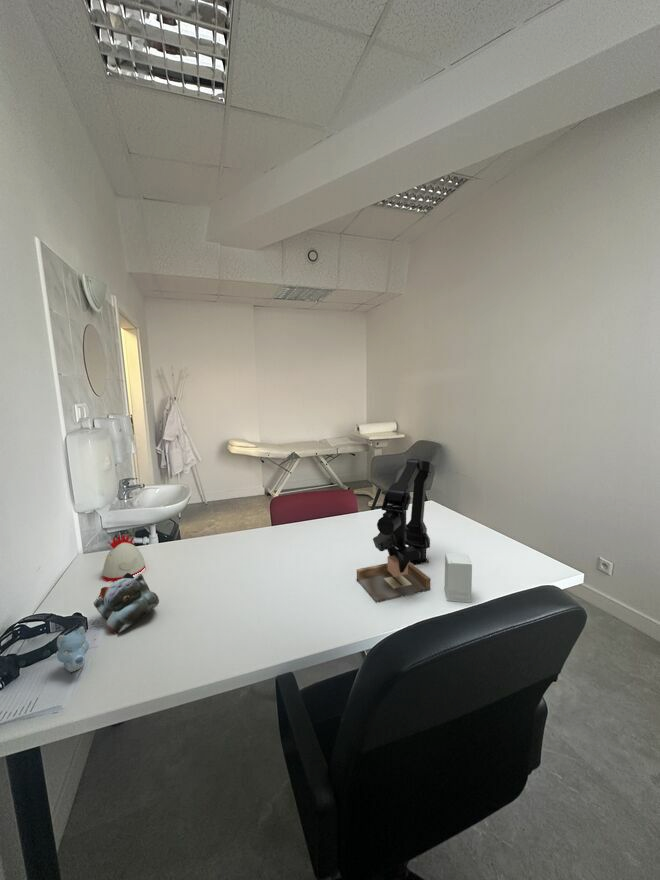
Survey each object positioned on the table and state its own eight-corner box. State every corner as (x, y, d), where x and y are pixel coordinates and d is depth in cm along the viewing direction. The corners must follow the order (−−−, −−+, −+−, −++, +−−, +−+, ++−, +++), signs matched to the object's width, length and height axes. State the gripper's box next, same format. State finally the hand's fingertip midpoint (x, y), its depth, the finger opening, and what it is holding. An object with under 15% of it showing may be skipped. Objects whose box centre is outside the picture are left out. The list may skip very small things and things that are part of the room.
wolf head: (66, 688, 81) (61, 648, 80) (56, 669, 87) (52, 631, 86) (97, 672, 86) (93, 634, 85) (86, 655, 92) (82, 619, 90)
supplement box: (471, 603, 111) (472, 564, 109) (446, 601, 112) (447, 562, 111) (467, 590, 118) (468, 554, 116) (444, 588, 119) (444, 552, 118)
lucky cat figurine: (106, 641, 97) (84, 595, 98) (110, 634, 107) (91, 592, 108) (162, 607, 104) (141, 564, 105) (161, 603, 115) (142, 564, 116)
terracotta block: (387, 570, 124) (387, 556, 123) (400, 567, 126) (400, 553, 125) (394, 576, 119) (394, 562, 119) (407, 574, 121) (407, 559, 120)
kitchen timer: (98, 573, 135) (94, 535, 133) (137, 560, 145) (134, 525, 143) (110, 586, 126) (105, 545, 124) (151, 571, 136) (147, 533, 134)
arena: (406, 569, 133) (406, 559, 132) (430, 589, 119) (430, 578, 118) (356, 580, 126) (356, 569, 126) (376, 602, 112) (376, 590, 112)
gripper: (364, 519, 126) (364, 561, 128) (390, 538, 109) (390, 587, 111) (391, 515, 130) (392, 555, 132) (421, 533, 113) (421, 580, 115)
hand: (397, 568), depth 122 cm, fingers closed on terracotta block, 5 cm apart
